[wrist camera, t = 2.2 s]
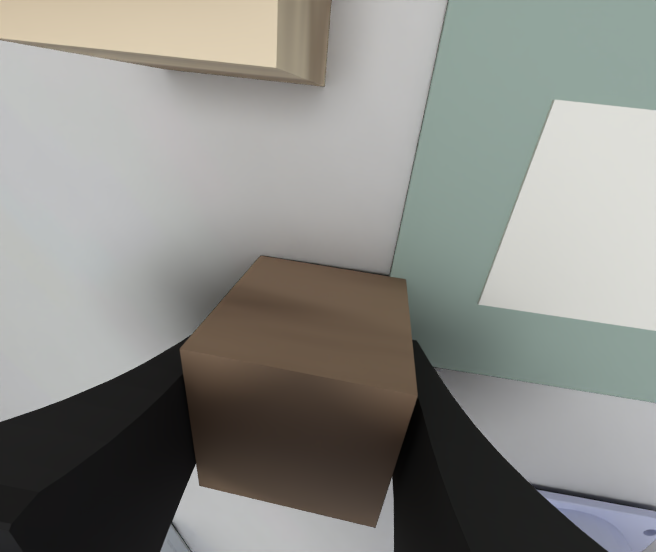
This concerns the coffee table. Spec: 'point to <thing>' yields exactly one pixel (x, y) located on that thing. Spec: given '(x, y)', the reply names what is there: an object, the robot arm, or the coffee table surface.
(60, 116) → the coffee table surface
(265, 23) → the maple block
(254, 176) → the coffee table surface
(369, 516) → the walnut block
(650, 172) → the build mat
